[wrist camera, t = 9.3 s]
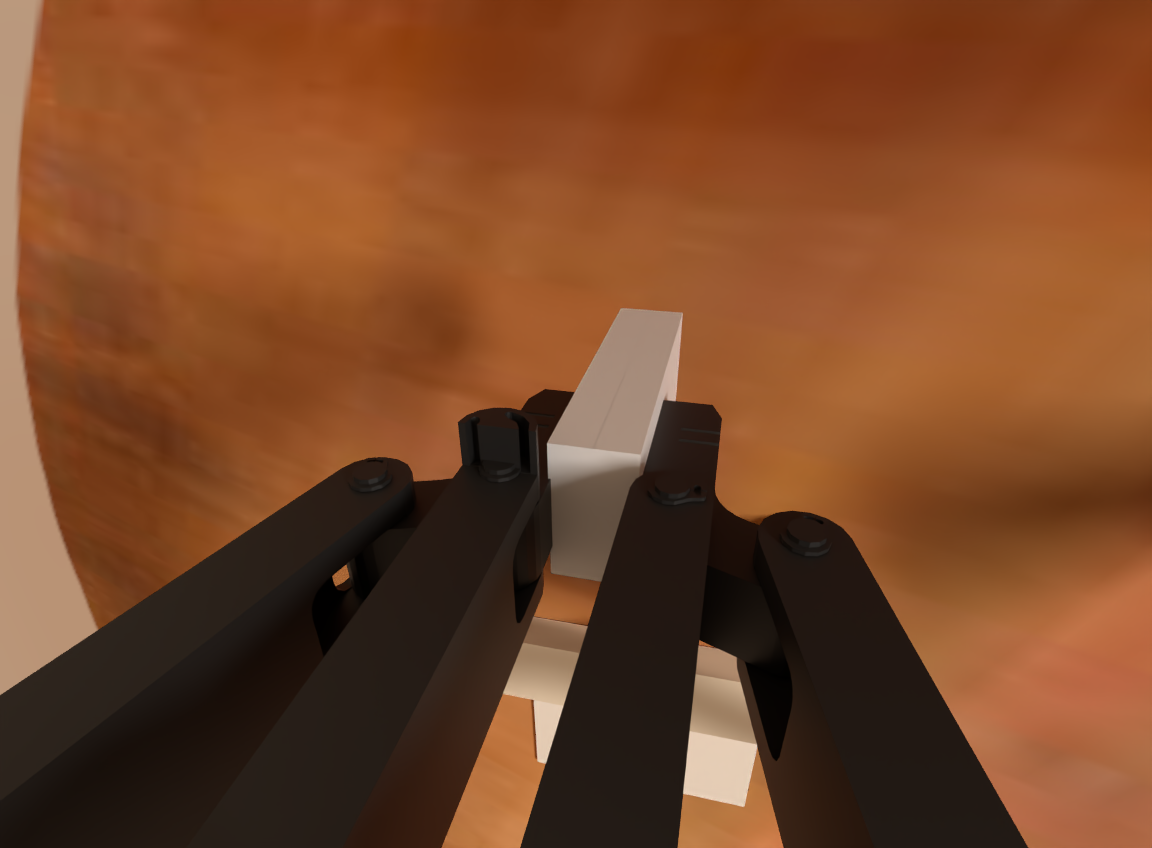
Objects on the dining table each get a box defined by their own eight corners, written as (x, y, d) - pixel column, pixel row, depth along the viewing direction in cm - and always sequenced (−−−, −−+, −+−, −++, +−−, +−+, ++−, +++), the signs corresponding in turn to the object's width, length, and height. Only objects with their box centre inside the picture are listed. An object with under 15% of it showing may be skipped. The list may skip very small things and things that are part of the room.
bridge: (811, 572, 30) (833, 759, 22) (509, 528, 33) (434, 680, 25) (824, 521, 28) (852, 702, 20) (505, 479, 31) (424, 624, 23)
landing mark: (744, 803, 39) (744, 806, 39) (538, 758, 42) (537, 761, 42) (775, 658, 33) (775, 662, 33) (529, 616, 35) (528, 618, 35)
